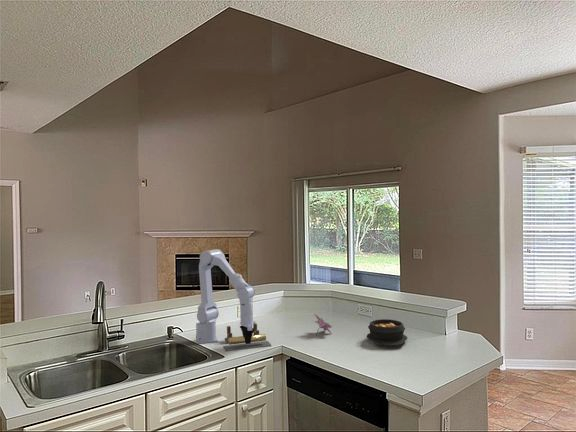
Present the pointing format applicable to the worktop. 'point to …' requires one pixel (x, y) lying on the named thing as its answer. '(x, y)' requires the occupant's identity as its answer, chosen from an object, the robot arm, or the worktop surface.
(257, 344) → the mat
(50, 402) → the worktop surface
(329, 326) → the lily
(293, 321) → the worktop surface
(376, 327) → the casserole
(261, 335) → the rail
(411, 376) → the worktop surface
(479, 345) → the worktop surface
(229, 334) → the hook stand
